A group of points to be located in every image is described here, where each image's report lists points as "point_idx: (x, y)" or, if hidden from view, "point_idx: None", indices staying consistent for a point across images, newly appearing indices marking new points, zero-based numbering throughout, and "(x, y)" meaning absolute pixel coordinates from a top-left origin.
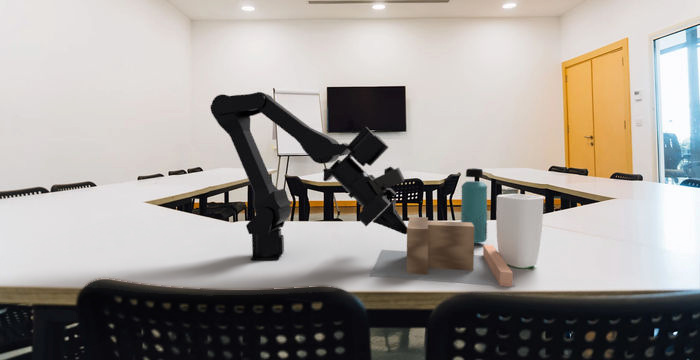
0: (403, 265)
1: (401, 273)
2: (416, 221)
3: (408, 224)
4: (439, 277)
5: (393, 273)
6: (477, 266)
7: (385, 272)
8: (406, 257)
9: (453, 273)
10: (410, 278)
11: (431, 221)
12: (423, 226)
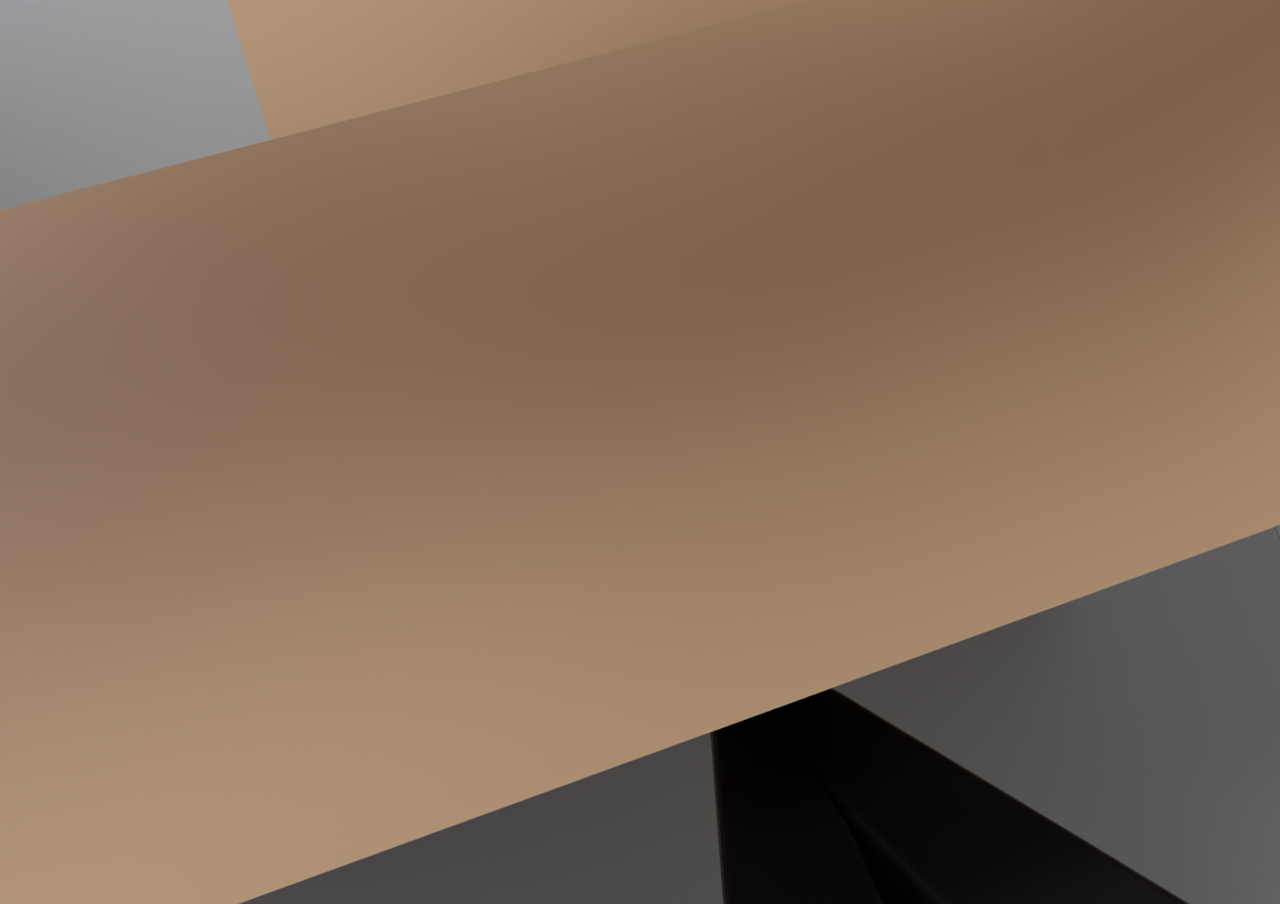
0: None
1: (1129, 640)
2: (571, 461)
3: (1203, 533)
4: None
5: (1201, 744)
6: None
7: (1237, 873)
8: (358, 890)
9: None
10: None
11: (308, 8)
12: (1188, 28)
